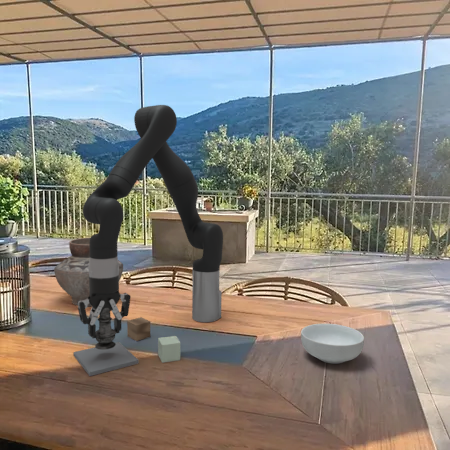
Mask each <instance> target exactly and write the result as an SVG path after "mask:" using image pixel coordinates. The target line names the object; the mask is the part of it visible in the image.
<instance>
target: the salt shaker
mask: <svg viewBox="0 0 450 450" xmlns="http://www.w3.org/2000/svg"><path fill="white" fill-rule="evenodd" d="M112 319H113V318H112V317H111V311H110V309H109V308H105V309H103V311H102V312H101V313H100V314H99V316H98V317H97V321H98V329H97V330H96V338H95V340H96V341H97V343H96V344H95V346H94V347H96V348H97V349H102V350H104V349H110V348H113V347H114V346H115V345H116V344H115V343H116V342H114V341H113V340H114V339H115V338H116V335H117V333H116V330H114V328H112Z"/></svg>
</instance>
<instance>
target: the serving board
mask: <svg viewBox="0 0 450 450" xmlns="http://www.w3.org/2000/svg"><path fill="white" fill-rule="evenodd" d="M114 343H115V344H116V345H115V346H114V347H113V348H110V349H104V350H102V349H97V348H96V347H95V346H94V347H90V348H86V349H82V350H77V351H73V357H74V358H75V359H76V360H77V362H78V363H79V365H80V366H81V367H82V368H83V370H84V371H85V372H86V374H87V375H88V377H92V376H97V375H100V374H104V373H107V372H111V371H115V370H118V369H119V370H120V369H124V368H126V367H130V366H134V365H138V364H140V363H139V362H140V361H139V359H138V358H137V357H136V355H134V354H133V353H132V352H131V351H129V349H128V348H126V346H124V345H123V344H122V343H121V342H120V341H118V342H117V341H116V342H114Z"/></svg>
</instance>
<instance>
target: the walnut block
mask: <svg viewBox="0 0 450 450" xmlns="http://www.w3.org/2000/svg"><path fill="white" fill-rule="evenodd" d="M126 322H127V323H126V324H127V330H126V331H127V336H126V337H128V338H130V339H132V340H134V341H135V342H138V341H141V340H144V339H145V340H146V339H147V338H151V321H150V320H148V319H146V318H144V317H142V316H140V317H136V318H133V319H130V320H129V319H128V320H126Z"/></svg>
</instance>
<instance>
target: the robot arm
mask: <svg viewBox="0 0 450 450" xmlns="http://www.w3.org/2000/svg"><path fill="white" fill-rule="evenodd" d="M177 118H178V117H177V115H176V112H175V111H174V109H173V108H172V107H171V106H169V105H168V104H156V105H150V106H144V107H140V108H139V109H137V110H136V112H135V114H134V117H133V119H134V122H133V123H134V126H135V129H136V132H137V133H138V134H137V135H138V137H139V138H140V139H139V140H138V141H137V142H136V144H135V145H133V146H132V147H131V148H130V149H129V150H128V151H126V152H125V153H124V154H123V155H122V156H121V157H119V159H118V161H116V163H115V164H114V166H113V167H112V169H111V171H110V172H109V174H108V176H107V177H106V179H105V180H104V182H102V183H101V184H100V185H99V186H98V187H97V188H96V189H95V190H94V191H93V192H92V193H91V194H90V195H89V196H88V197H87V199H86V200H85V202H84V204H83V208H82V215H83V217H84V219H85V220H86V221H87V222H88V223H90V224H94V225H99V229H98V233H95V234H92V235H91V236H90V237H89V238H90V243H89V249H90V261H89V292H90V294H89V297H88V299H86V300H82V301H81V300H78V301H77V305H78V306H77V305H76V306H77V309H78V313H79V314H78V315H79V320H80V322H81V323H82V324H84V325H87V331H88V332H87V334H88V335H89V337H91V339H96V331H97V330H96V327H97V326H96V324H95V323H96V321H97V320H98V318H99V314H100V313H101V312H102V311H103V309H105V308H109V309H110V312H111V313H112V314H113V316H114V318H113V329H114V330H116V334H120V331H122V319H123V318H124V317H128V316H129V313H130V312H129V311H130V306H131V305H130V303H131V295H130V294H128V293H127V292H124V293H120V281H119V264H118V260H119V259H118V258H119V256H118V240H119V236H120V232H121V229H122V224H123V219H124V211H123V210H124V209H123V207H122V205H121V203H120V201H119V199H123V198H126V197H128V196H129V194H130V193H131V191H132V190H133V189H134V186H135V185H136V183H137V182H138V179H140V176H141V174H142V173H143V172H144V170H145V168H146V167H147V166H148V164H149V163H150V162H151V160H153V162H154V163H155V166H156V168H157V170H158V172H159V174H160V176H161V178H162V179H163V182H164V185H165V187H166V190H167V192H168V194H169V195H170V198H171V200H172V202H173V204H174V206H175V209H176V211H177V213H178V215H179V218H180V220H181V222H182V227H183V229H184V230H183V231H184V232H185V235H186V238H187V240H188V243H189V245H191V246H192V247H193V248H195V249H197V250H203V251H202V256H201V257H200V258H197V259H194V260H193V262H192V286H191V287H192V294H191V295H192V298H191V299H192V301H191V303H192V304H191V305H192V306H191V310H192V311H191V314H192V316H191V317H192V320H194V321H196V322H199V323H211V322H216V321H218V320H219V319H221V318H222V291H221V290H220V274H221V273H220V270H221V269H220V268H221V267H220V266H221V263H222V259H223V249H224V248H223V247H224V232H223V229H222V227H221V226H220V225H219V224H217V223H212V222H206V221H203V220H202V219H201V217H200V214H199V212H198V209H197V202H198V196H199V187H198V183H197V181H196V178H195V176H194V174H193V171H192V170H191V168H190V167H189V166H188V164H187V163H186V162H185V161H184V160H183V159H182V158H181V157H180V156H178V155H177V153H175V151H173V149H172V148H171V147H170V145H169V144H168V142H167V141H168V140H169V139H170V138H171V136H172V135H173V134H174V132H175V131H176V128H177V123H178V119H177ZM119 301H121V307H120V309H119V308H118V303H119ZM89 303H90V304H91V306H92V307H91V308H90V310H89V315H88V314H87V311H86V309H87V308H88V307H87V305H88V304H89Z"/></svg>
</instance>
